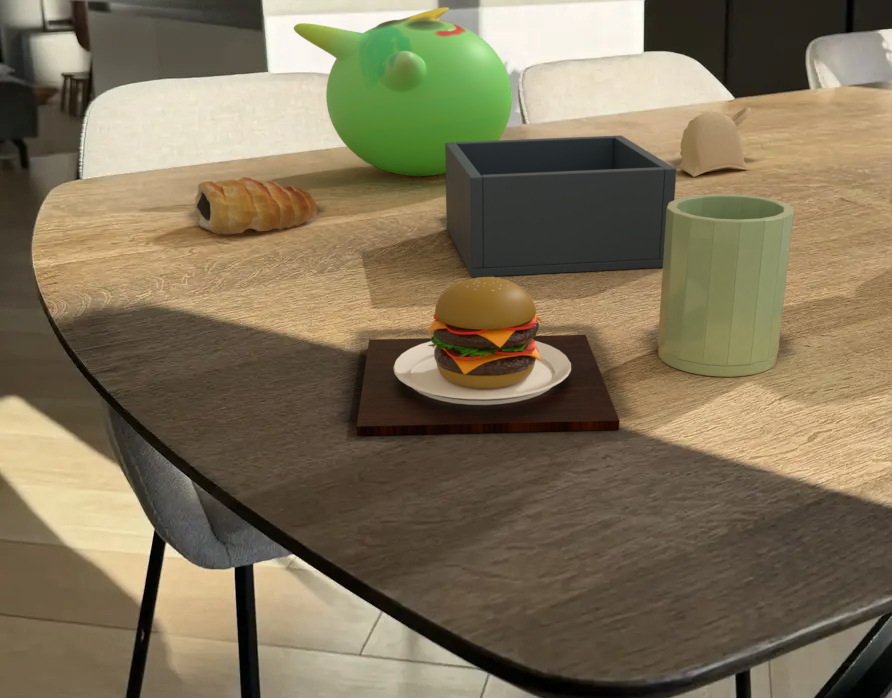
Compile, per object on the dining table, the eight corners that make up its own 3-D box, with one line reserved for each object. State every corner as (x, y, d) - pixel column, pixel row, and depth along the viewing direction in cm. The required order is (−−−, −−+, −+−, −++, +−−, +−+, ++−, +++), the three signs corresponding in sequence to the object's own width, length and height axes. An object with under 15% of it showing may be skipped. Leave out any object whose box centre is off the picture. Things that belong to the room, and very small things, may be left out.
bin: (617, 221, 88) (621, 135, 85) (670, 267, 75) (676, 168, 73) (446, 229, 86) (444, 142, 84) (471, 277, 74) (470, 177, 71)
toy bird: (545, 172, 106) (548, 6, 100) (416, 202, 95) (411, 18, 89) (415, 151, 118) (411, 1, 111) (287, 175, 107) (275, 11, 101)
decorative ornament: (665, 170, 106) (668, 112, 104) (734, 161, 109) (739, 105, 107) (691, 177, 102) (695, 117, 100) (763, 168, 106) (768, 110, 104)
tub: (751, 334, 63) (765, 191, 59) (795, 373, 57) (814, 218, 54) (644, 340, 62) (652, 196, 59) (678, 380, 57) (690, 224, 53)
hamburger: (369, 347, 62) (364, 250, 60) (585, 342, 62) (588, 245, 60) (357, 435, 51) (350, 321, 49) (618, 429, 51) (624, 315, 49)
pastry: (299, 209, 93) (296, 163, 92) (330, 227, 88) (327, 178, 86) (190, 224, 89) (184, 176, 88) (215, 242, 84) (210, 192, 82)
